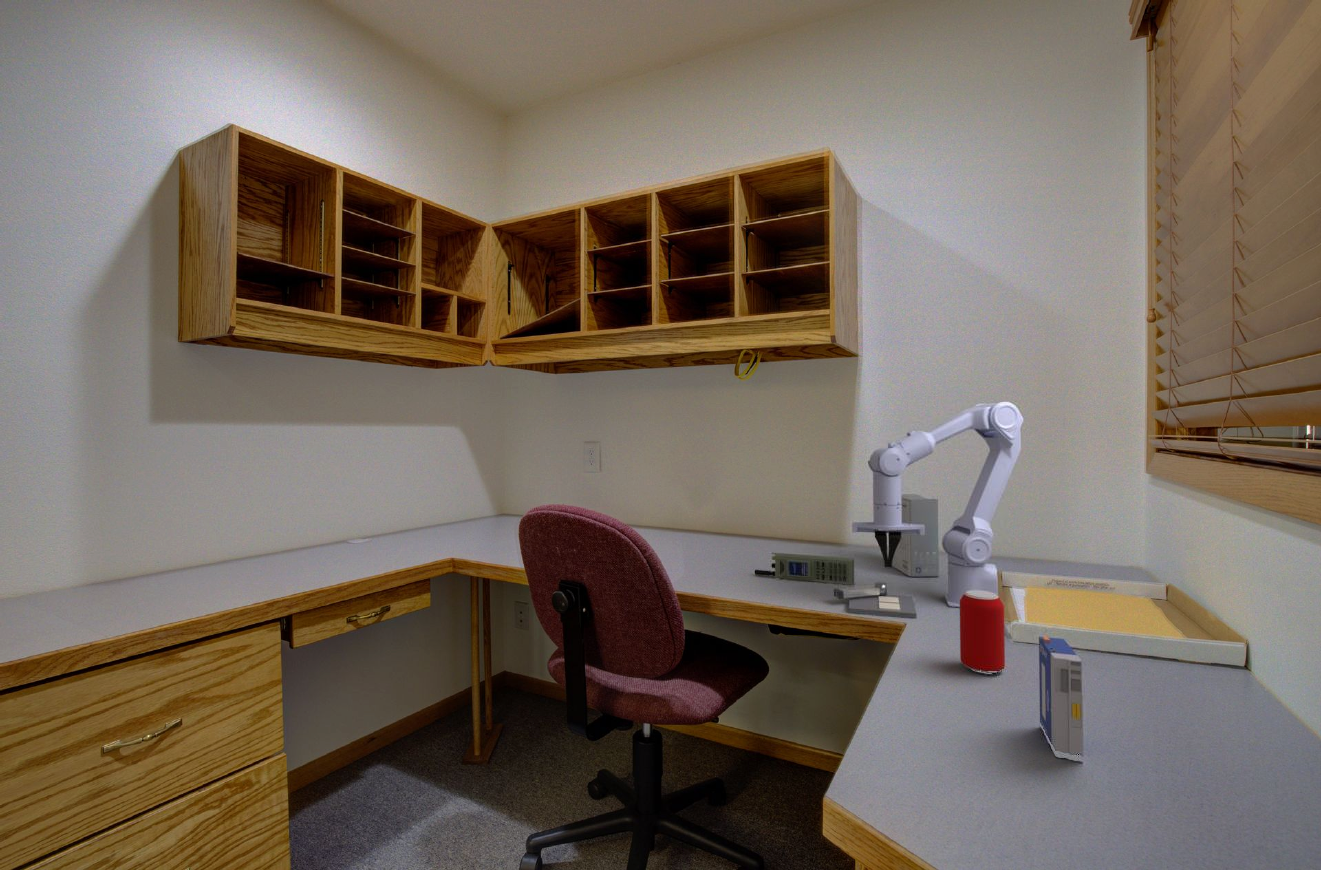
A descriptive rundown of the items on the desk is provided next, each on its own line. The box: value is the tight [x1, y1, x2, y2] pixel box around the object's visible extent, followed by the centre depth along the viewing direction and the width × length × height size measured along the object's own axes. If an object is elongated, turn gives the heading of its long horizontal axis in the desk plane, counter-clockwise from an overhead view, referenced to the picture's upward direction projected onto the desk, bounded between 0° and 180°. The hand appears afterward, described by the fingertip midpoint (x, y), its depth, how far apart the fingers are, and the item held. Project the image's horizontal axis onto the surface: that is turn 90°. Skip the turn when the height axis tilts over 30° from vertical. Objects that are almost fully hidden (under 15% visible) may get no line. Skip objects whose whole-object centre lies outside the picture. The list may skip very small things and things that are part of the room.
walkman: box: [1038, 636, 1084, 758], centre depth 72 cm, size 8×3×12 cm, turn 159°
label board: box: [848, 594, 918, 619], centre depth 128 cm, size 13×13×1 cm
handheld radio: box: [754, 552, 855, 586], centre depth 152 cm, size 7×3×25 cm
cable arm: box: [833, 581, 888, 600], centre depth 132 cm, size 3×12×2 cm, turn 104°
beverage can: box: [959, 590, 1006, 674], centre depth 95 cm, size 6×6×12 cm
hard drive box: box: [892, 493, 940, 578], centre depth 160 cm, size 16×8×20 cm, turn 179°
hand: (888, 566), depth 129 cm, fingers closed
